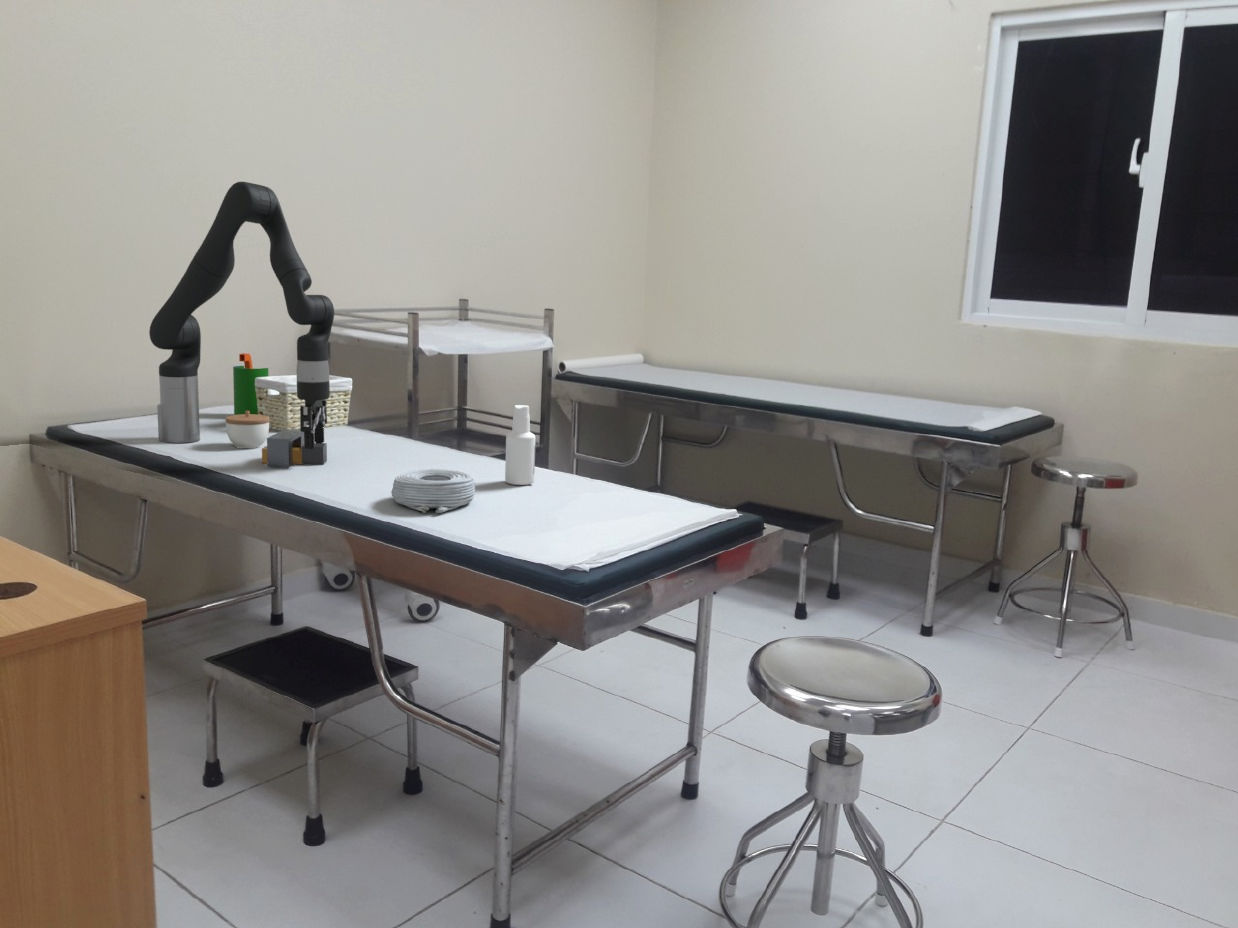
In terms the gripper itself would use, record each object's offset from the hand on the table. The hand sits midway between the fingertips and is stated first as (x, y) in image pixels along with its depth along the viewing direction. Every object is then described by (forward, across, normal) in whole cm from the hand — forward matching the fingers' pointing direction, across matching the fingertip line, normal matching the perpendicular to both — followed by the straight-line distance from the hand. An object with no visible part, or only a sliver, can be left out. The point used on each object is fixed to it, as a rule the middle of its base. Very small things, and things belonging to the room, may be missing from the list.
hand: (314, 445), depth 239 cm
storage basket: (+4, +52, +18) cm, 55 cm away
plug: (+4, +1, 0) cm, 5 cm away
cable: (+6, -33, -34) cm, 47 cm away
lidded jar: (+4, +18, +22) cm, 29 cm away
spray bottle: (+5, -11, -51) cm, 52 cm away
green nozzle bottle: (+4, +62, +36) cm, 72 cm away
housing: (+4, 0, +7) cm, 8 cm away
